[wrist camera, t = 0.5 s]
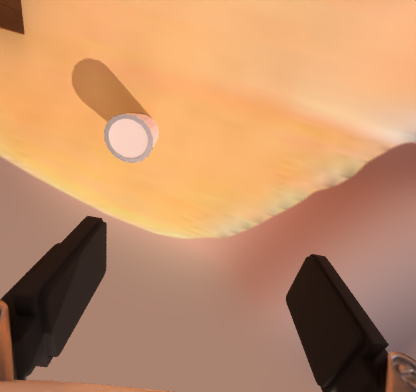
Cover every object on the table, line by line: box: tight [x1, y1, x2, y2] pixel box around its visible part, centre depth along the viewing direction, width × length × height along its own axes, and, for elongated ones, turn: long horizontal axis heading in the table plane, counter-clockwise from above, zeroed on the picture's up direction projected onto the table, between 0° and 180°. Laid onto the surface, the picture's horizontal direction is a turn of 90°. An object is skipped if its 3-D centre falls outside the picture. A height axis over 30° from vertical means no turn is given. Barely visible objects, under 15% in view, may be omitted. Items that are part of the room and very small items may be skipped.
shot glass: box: [104, 113, 159, 163], centre depth 33 cm, size 7×7×7 cm
